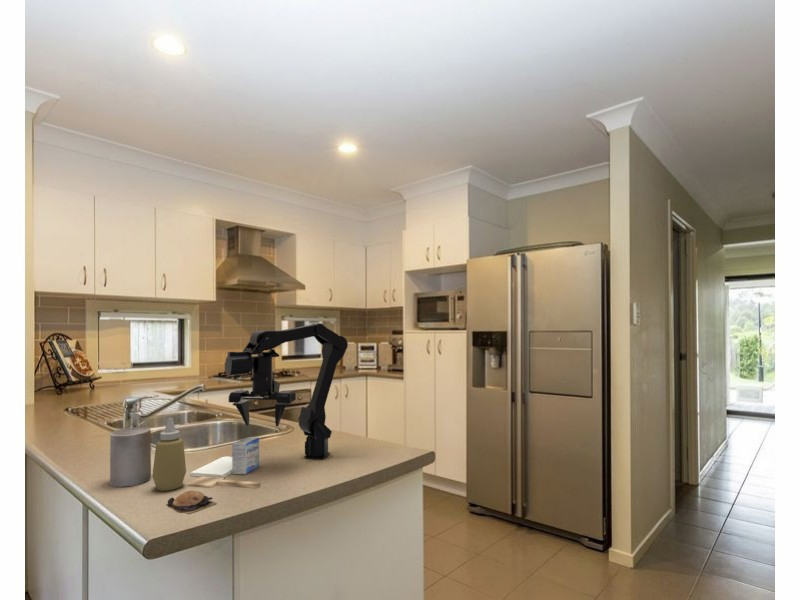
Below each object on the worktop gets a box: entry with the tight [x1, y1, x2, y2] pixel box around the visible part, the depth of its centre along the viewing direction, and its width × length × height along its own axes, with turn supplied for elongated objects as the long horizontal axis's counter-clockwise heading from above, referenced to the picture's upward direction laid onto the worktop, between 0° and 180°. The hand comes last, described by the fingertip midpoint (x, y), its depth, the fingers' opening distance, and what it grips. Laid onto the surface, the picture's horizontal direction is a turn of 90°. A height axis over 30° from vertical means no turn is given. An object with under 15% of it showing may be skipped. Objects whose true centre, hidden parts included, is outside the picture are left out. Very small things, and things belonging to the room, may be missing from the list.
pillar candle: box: [109, 425, 152, 488], centre depth 128 cm, size 10×10×15 cm
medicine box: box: [231, 436, 260, 475], centre depth 137 cm, size 8×4×9 cm, turn 168°
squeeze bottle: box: [151, 417, 187, 492], centre depth 123 cm, size 8×8×18 cm
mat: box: [190, 455, 232, 478], centre depth 139 cm, size 10×16×1 cm, turn 167°
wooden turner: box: [187, 476, 261, 489], centre depth 125 cm, size 19×6×1 cm, turn 77°
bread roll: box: [165, 490, 218, 515], centre depth 112 cm, size 11×8×4 cm
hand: (262, 425), depth 139 cm, fingers open, 9 cm apart
